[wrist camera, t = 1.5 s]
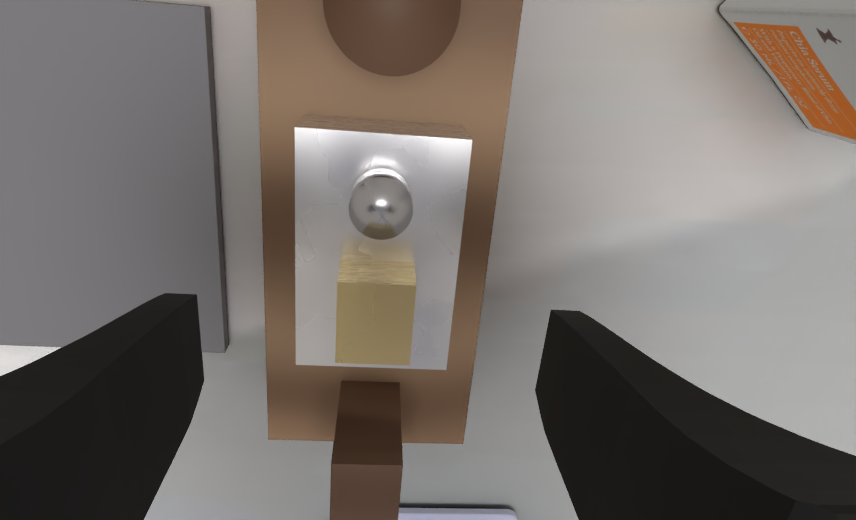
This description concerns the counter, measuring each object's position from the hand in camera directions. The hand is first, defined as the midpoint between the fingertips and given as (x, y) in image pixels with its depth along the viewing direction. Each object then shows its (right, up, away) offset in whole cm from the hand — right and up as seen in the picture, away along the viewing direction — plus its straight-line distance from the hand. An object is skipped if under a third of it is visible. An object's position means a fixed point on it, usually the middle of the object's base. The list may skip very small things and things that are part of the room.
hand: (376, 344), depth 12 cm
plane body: (-1, +4, +9) cm, 10 cm away
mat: (-11, +4, +8) cm, 14 cm away
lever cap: (0, +3, +6) cm, 7 cm away
